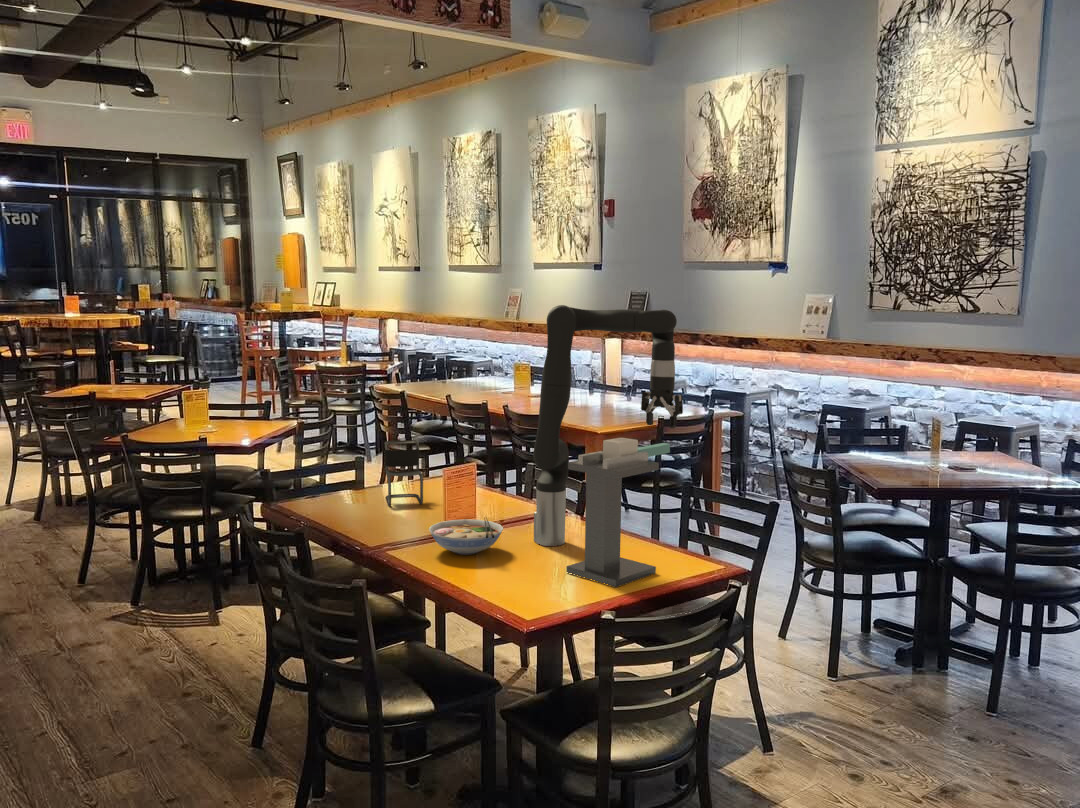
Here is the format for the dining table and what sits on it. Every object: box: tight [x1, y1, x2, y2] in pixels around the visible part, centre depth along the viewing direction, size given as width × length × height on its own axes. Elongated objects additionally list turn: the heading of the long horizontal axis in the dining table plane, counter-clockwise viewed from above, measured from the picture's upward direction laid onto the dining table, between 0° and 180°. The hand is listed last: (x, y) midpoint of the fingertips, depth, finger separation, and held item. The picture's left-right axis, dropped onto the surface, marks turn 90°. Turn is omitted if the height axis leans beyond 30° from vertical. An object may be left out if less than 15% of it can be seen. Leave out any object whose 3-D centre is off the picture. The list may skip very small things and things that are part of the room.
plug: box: [602, 437, 671, 459], centre depth 265 cm, size 6×26×6 cm, turn 136°
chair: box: [384, 439, 424, 507], centre depth 346 cm, size 13×17×22 cm
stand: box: [566, 450, 660, 588], centre depth 259 cm, size 18×18×34 cm
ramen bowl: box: [428, 516, 504, 556], centre depth 280 cm, size 25×23×8 cm
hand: (661, 426), depth 285 cm, fingers open, 8 cm apart
